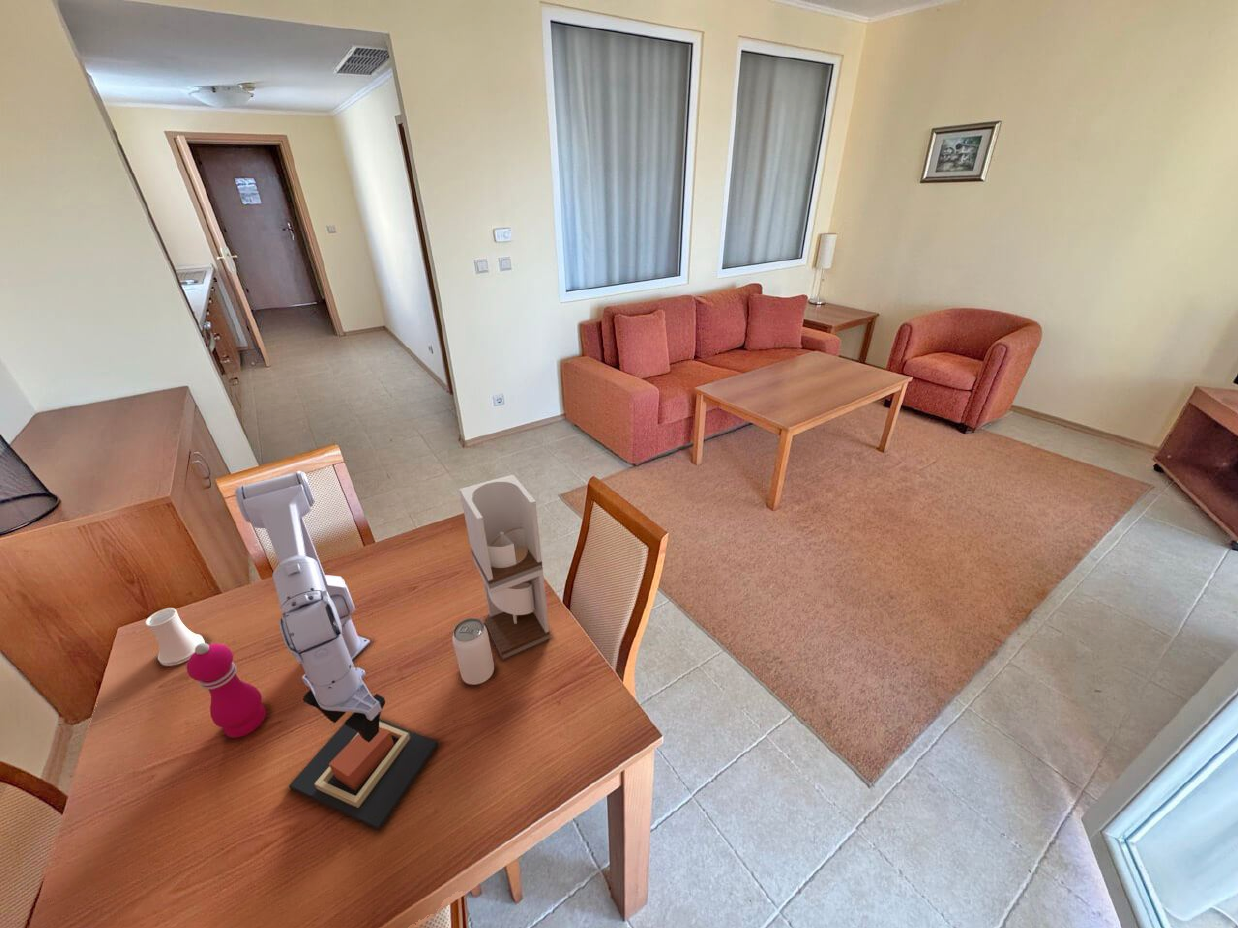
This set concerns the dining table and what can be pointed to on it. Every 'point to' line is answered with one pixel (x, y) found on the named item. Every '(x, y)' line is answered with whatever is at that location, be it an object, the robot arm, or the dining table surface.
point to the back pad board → (379, 787)
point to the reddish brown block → (361, 758)
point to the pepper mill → (226, 690)
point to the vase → (173, 637)
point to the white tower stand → (508, 561)
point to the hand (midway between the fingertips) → (355, 726)
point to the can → (473, 651)
